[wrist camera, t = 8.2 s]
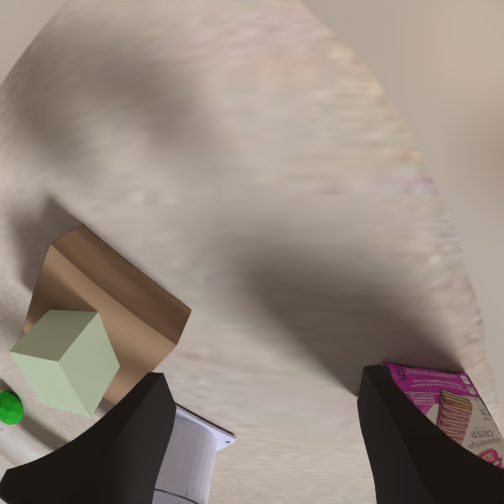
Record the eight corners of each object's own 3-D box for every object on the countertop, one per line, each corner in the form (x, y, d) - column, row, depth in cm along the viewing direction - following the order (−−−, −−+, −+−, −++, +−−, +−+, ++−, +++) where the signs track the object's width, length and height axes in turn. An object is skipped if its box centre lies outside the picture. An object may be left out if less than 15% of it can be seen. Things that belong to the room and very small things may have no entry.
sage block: (120, 366, 19) (91, 418, 14) (72, 360, 19) (40, 404, 15) (98, 311, 17) (58, 361, 13) (49, 309, 18) (9, 351, 13)
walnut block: (133, 376, 25) (117, 407, 21) (47, 308, 23) (22, 332, 19) (191, 310, 21) (176, 345, 18) (83, 224, 19) (50, 244, 16)
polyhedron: (21, 392, 29) (4, 414, 25) (32, 414, 31) (18, 435, 27) (-1, 380, 30) (-17, 400, 25) (11, 402, 31) (-4, 422, 27)
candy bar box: (468, 369, 23) (535, 500, 7) (441, 404, 24) (489, 531, 9) (380, 357, 22) (438, 546, 7) (353, 397, 24) (382, 568, 9)
